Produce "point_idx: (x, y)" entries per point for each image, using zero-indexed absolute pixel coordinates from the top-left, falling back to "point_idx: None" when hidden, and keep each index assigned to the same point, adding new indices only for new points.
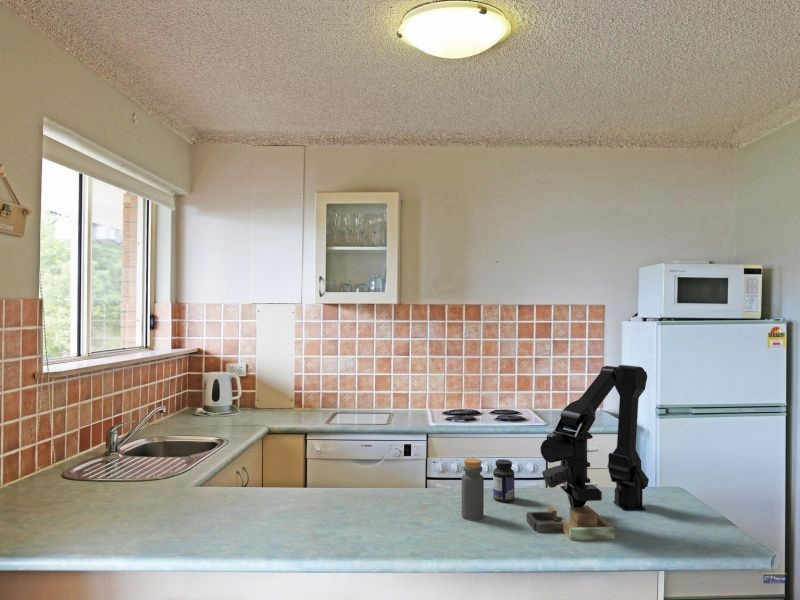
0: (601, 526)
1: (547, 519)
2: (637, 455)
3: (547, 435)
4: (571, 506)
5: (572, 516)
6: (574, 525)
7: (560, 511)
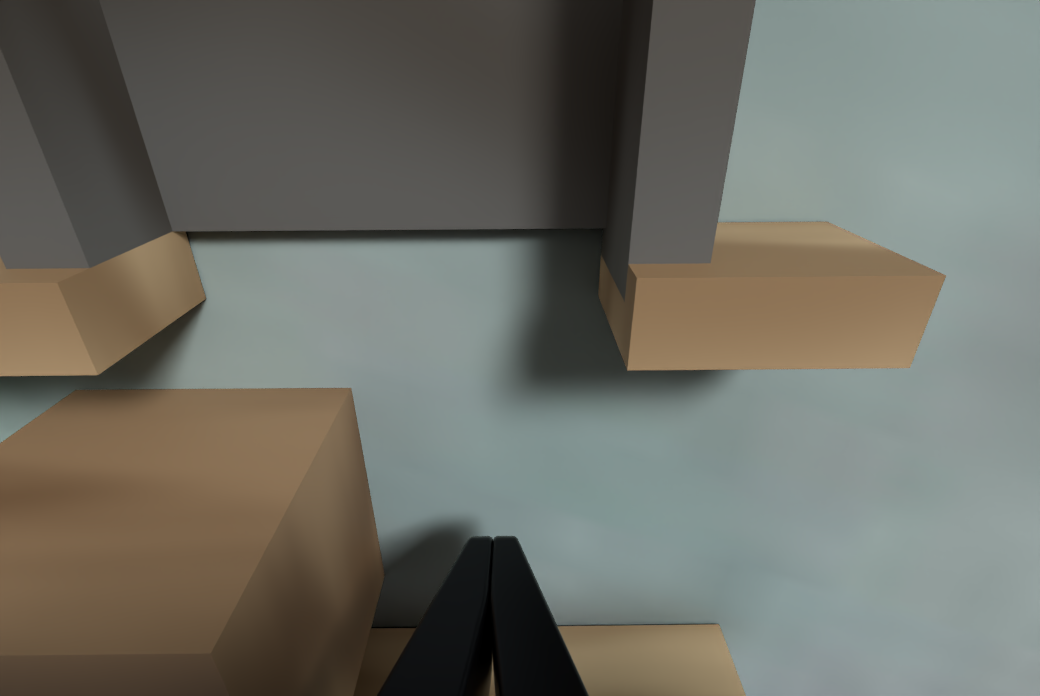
0: None
1: (602, 128)
2: None
3: None
4: (501, 664)
5: (139, 524)
6: (130, 439)
7: (907, 450)
